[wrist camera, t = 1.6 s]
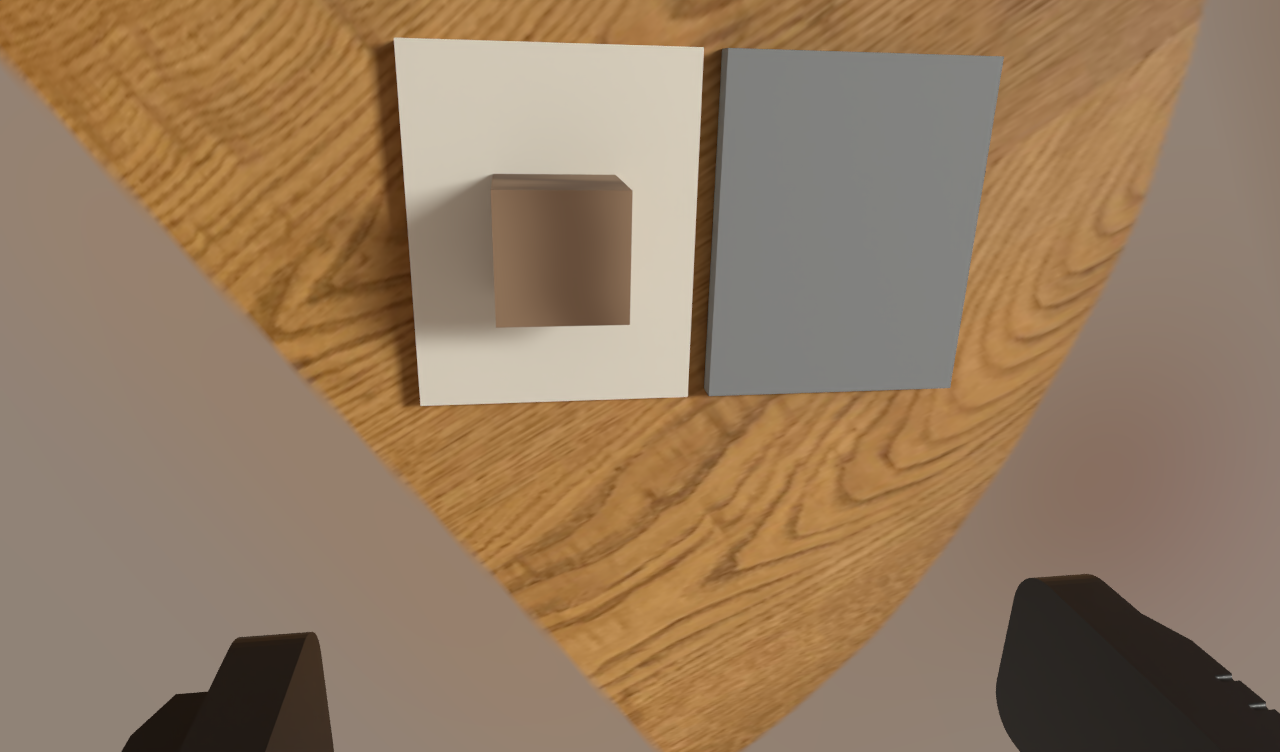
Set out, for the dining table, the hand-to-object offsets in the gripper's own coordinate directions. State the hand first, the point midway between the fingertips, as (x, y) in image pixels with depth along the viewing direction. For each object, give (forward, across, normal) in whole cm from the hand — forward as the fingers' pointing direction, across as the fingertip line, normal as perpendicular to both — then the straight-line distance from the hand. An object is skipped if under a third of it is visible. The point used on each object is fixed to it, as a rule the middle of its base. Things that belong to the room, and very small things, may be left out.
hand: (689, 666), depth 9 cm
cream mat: (+28, 0, 0) cm, 28 cm away
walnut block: (+27, 0, 0) cm, 27 cm away
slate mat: (+28, +13, 0) cm, 31 cm away
